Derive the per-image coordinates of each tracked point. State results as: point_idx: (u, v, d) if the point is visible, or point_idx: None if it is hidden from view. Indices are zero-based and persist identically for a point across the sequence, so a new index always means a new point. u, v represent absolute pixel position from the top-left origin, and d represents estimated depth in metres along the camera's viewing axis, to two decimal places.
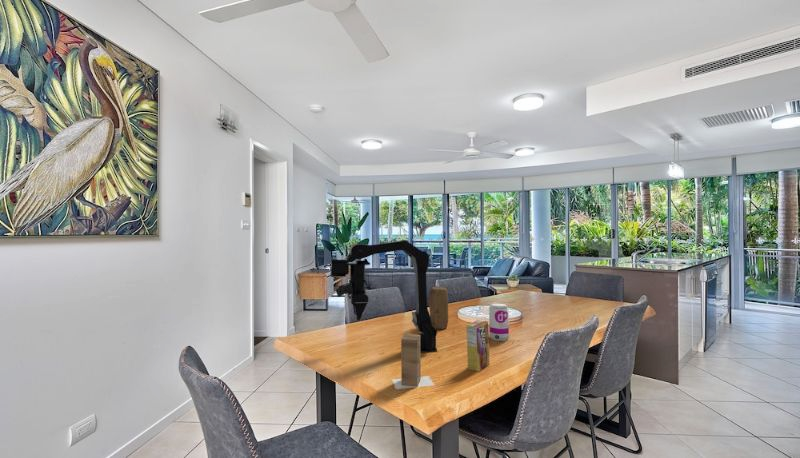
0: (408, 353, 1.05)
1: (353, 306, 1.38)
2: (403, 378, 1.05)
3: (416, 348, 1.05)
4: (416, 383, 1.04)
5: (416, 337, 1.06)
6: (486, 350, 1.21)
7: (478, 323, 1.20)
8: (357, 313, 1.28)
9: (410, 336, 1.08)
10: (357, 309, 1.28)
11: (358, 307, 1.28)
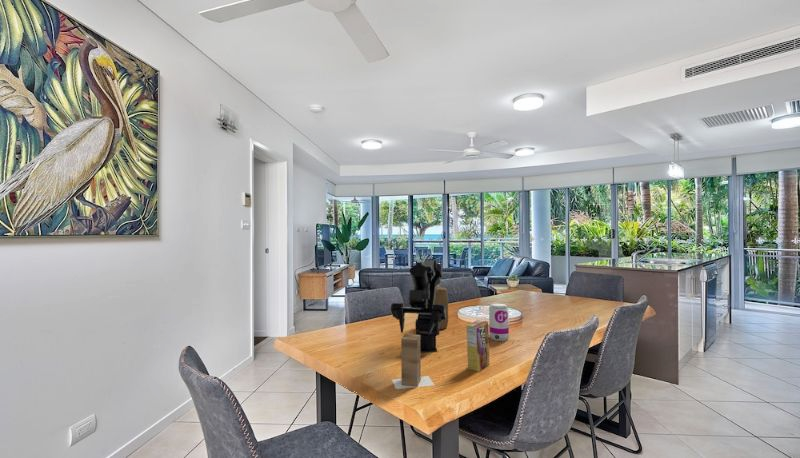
0: (408, 353, 1.05)
1: (402, 322, 1.17)
2: (403, 378, 1.05)
3: (416, 348, 1.05)
4: (416, 383, 1.04)
5: (416, 337, 1.06)
6: (486, 350, 1.21)
7: (478, 323, 1.20)
8: (432, 326, 1.15)
9: (410, 336, 1.08)
10: (433, 322, 1.16)
11: (433, 320, 1.17)
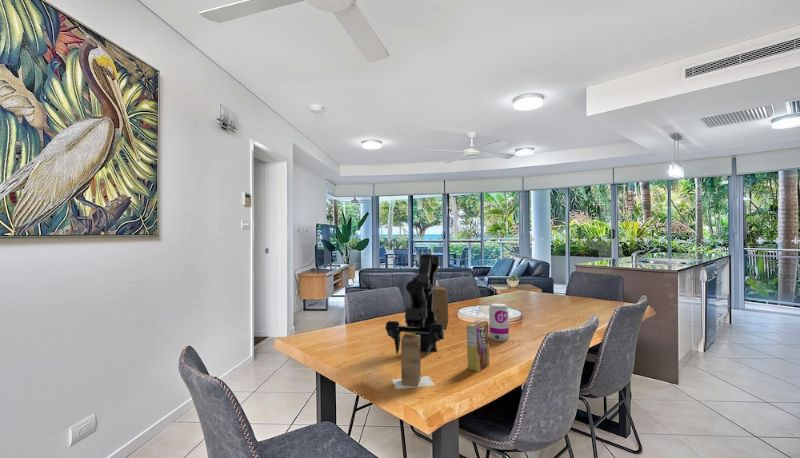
0: (408, 353, 1.05)
1: (398, 342, 1.11)
2: (403, 378, 1.05)
3: (416, 348, 1.05)
4: (416, 383, 1.04)
5: (416, 337, 1.06)
6: (486, 350, 1.21)
7: (478, 323, 1.20)
8: (429, 346, 1.08)
9: (410, 336, 1.08)
10: (431, 342, 1.09)
11: None
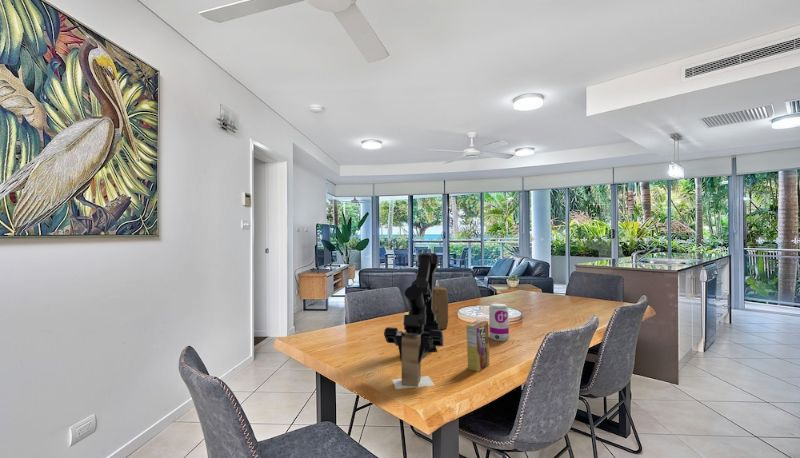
0: (409, 353, 1.05)
1: None
2: (403, 378, 1.05)
3: (416, 348, 1.04)
4: (416, 383, 1.04)
5: (417, 337, 1.06)
6: (486, 350, 1.21)
7: (478, 323, 1.20)
8: (422, 353, 1.07)
9: (410, 335, 1.08)
10: (424, 349, 1.08)
11: (424, 347, 1.08)
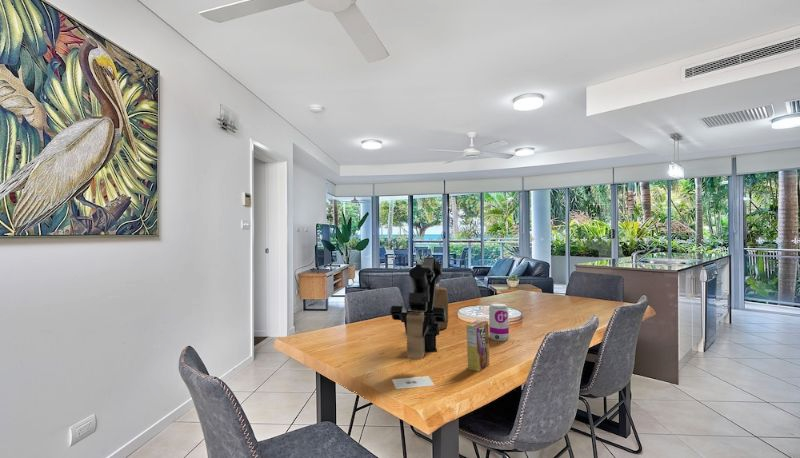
0: (413, 329, 1.13)
1: None
2: (408, 352, 1.13)
3: (420, 324, 1.12)
4: (421, 356, 1.12)
5: (421, 314, 1.14)
6: (486, 350, 1.21)
7: (478, 323, 1.20)
8: (426, 328, 1.15)
9: (414, 313, 1.16)
10: (427, 324, 1.16)
11: None
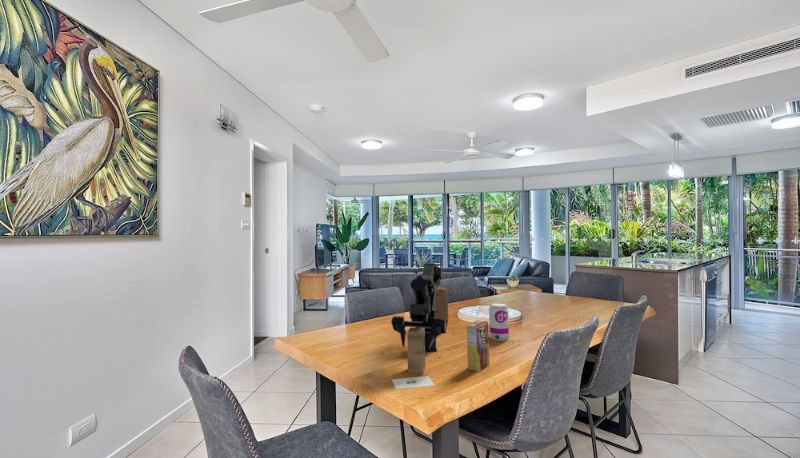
0: (414, 345, 1.14)
1: (403, 336, 1.18)
2: (409, 367, 1.14)
3: (421, 340, 1.13)
4: (421, 372, 1.14)
5: (421, 330, 1.15)
6: (486, 350, 1.21)
7: (478, 323, 1.20)
8: (432, 340, 1.16)
9: (415, 329, 1.17)
10: (433, 336, 1.17)
11: (433, 334, 1.17)
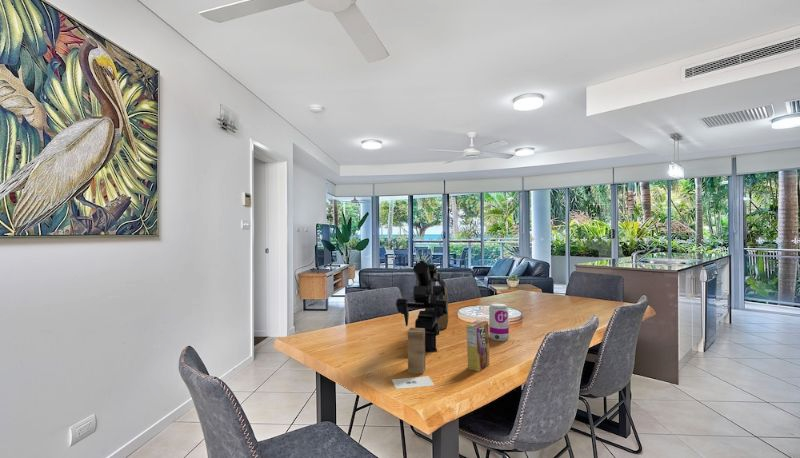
0: (414, 344, 1.14)
1: (407, 316, 1.25)
2: (409, 367, 1.15)
3: (421, 340, 1.14)
4: (421, 372, 1.14)
5: (422, 330, 1.16)
6: (486, 350, 1.21)
7: (478, 323, 1.20)
8: (435, 319, 1.23)
9: (415, 329, 1.18)
10: (436, 316, 1.24)
11: None
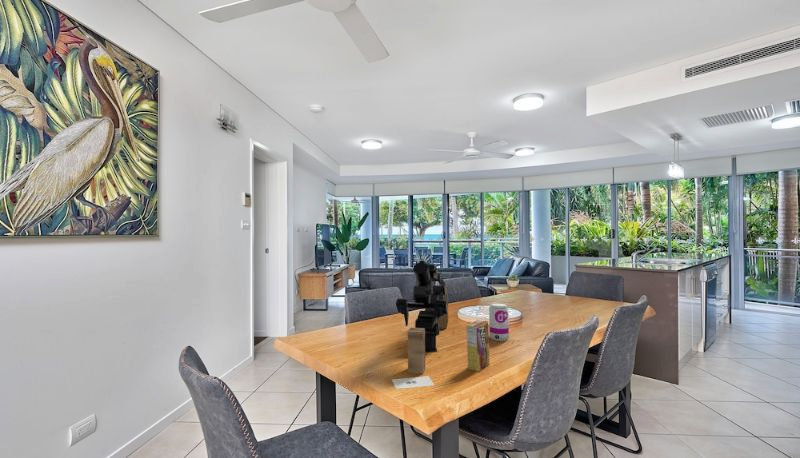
0: (414, 344, 1.14)
1: (407, 316, 1.25)
2: (409, 367, 1.15)
3: (421, 340, 1.14)
4: (421, 372, 1.14)
5: (422, 330, 1.16)
6: (486, 350, 1.21)
7: (478, 323, 1.20)
8: (435, 319, 1.23)
9: (415, 329, 1.18)
10: (436, 316, 1.24)
11: None
